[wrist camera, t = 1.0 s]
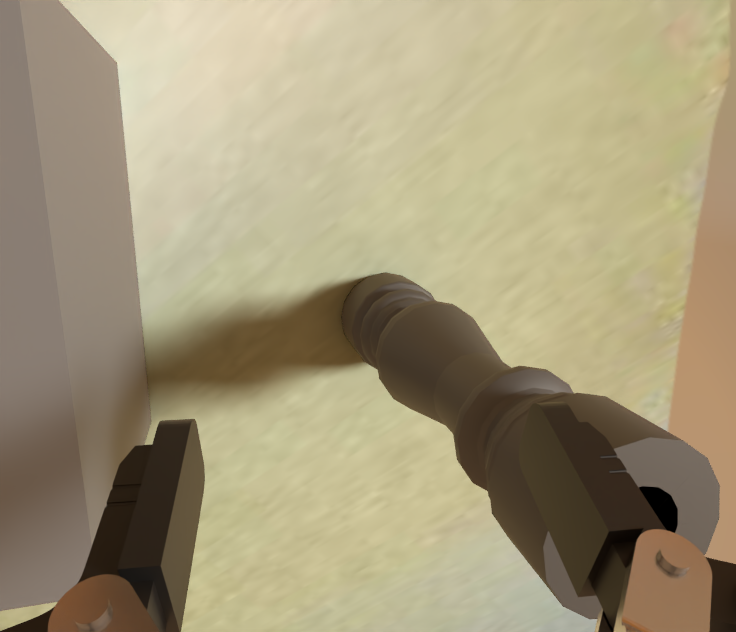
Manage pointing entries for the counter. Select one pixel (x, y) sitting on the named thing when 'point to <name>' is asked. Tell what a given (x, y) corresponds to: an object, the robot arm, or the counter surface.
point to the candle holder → (515, 420)
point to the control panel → (62, 300)
